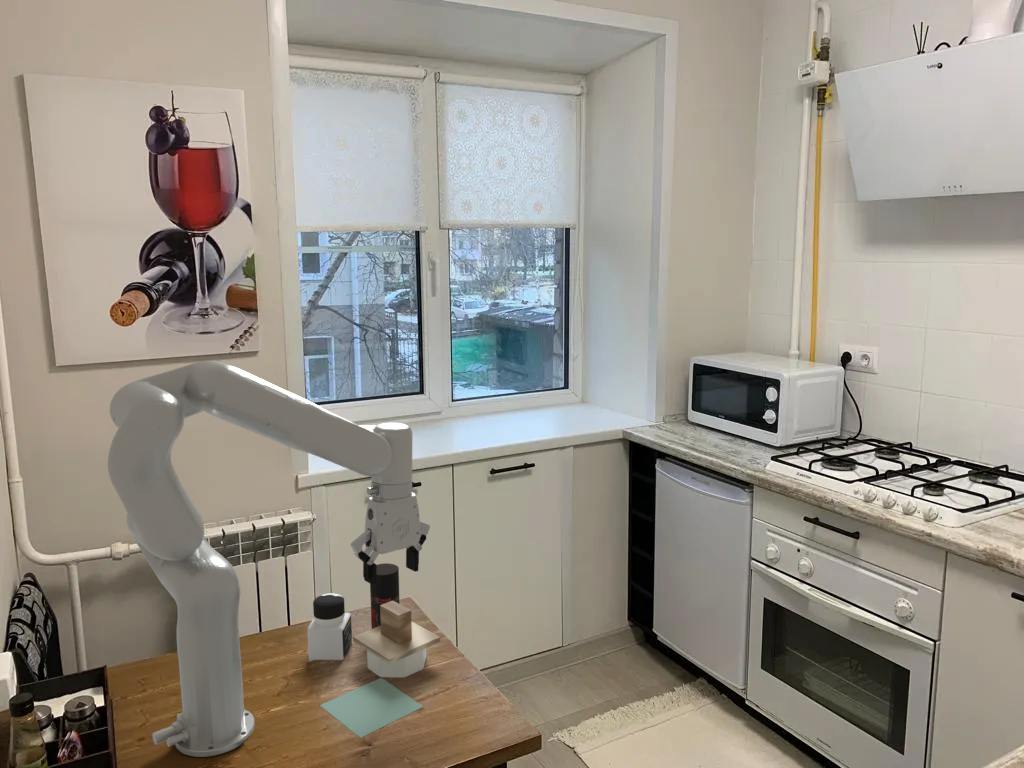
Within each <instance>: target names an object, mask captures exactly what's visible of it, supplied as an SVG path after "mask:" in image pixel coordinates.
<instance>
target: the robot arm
mask: <svg viewBox="0 0 1024 768" xmlns="http://www.w3.org/2000/svg"><path fill="white" fill-rule="evenodd" d="M202 412H205V413H207V414H209V415H211V416H213V417H216V418H218V419H220V420H222V421H225V422H228V423H230V424H233V425H235V426H237V427H241V429H245V430H247V431H249V432H252V433H255V434H257V435H259V436H262V437H263V438H267V439H269V440H270V441H274V442H276V443H279V444H280V445H284V446H286V447H287V448H291V449H294V450H298V451H301V452H305V453H307V454H310V455H314V457H315V456H316V457H319V458H320V459H323V460H325V461H328V462H330V463H333V464H335V465H338V466H341V467H342V468H345V469H347V470H349V471H353V472H354V473H356V474H359V475H361V476H364V477H371V481H370V482H371V483H370V487H367V488H366V493H367V495H369V496H370V497H369V498H368V501H367V507H366V513H365V519H364V520H365V522H364V523H365V524H364V532H363V533H362V534H360V535H359V536H358V537H357V538H356V539H354V540H353V541H352V542H351V543H350V547H351V549H352V551H353V553H354V555H355V556H356V557H357V558H358V559H359V560H360V561H361V562H362V563H363V565H362V569H363V570H362V571H363V573H362V576H363V580H364V581H365V582H367V583H368V584H372V585H374V584H376V582H377V566H376V565H377V564H376V563H375V561H376V560H377V558H378V556H379V555H380V554H381V555H384V554H388V553H393V552H396V551H400V550H403V549H406V550H405V566H406V568H407V569H409V570H411V571H412V572H418V571H419V563H420V551H422V549H423V545H424V543H425V541H426V540H427V536H428V533H429V531H430V528H431V526H430V524H427V523H424V522H423V521H421V520H420V519H421V517H420V511H419V510H420V508H419V504H418V498H417V496H416V493H415V492H413V430H412V428H411V426H409V425H408V424H406V423H401V422H383V423H379V424H376V425H359V424H357V423H355V422H352V421H350V420H348V419H346V418H343V417H342V416H339V415H337V414H335V413H333V412H330V411H329V410H326V409H324V408H323V407H321V406H319V405H318V404H316V403H314V402H312V401H310V400H309V399H307V398H304V397H302V396H300V395H297V394H296V393H294V392H291V391H289V390H286V389H284V388H282V387H280V386H278V385H276V384H273V383H272V382H269V381H267V380H265V379H263V378H261V377H258V376H257V375H254V374H252V373H250V372H248V371H245V370H244V369H241V368H239V367H237V366H233V365H230V364H228V363H224V362H221V361H218V360H213V359H212V360H202V361H198V362H194V363H190V364H188V365H184V366H180V367H178V368H174V369H171V370H168V371H164V372H162V373H158V374H154V375H151V376H148V377H144V378H140V379H137V380H134V381H131V382H128V383H127V384H126V385H123V386H122V387H120V388H119V389H118V391H116V392H115V393H114V394H113V396H112V399H111V401H110V404H109V414H110V419H111V420H112V422H113V424H114V425H115V426H116V427H117V430H116V432H115V434H114V436H113V438H112V441H111V443H110V447H109V451H108V456H107V471H108V474H109V475H108V476H109V479H110V482H111V484H112V486H113V488H114V490H115V492H116V493H117V496H118V498H119V499H120V501H121V503H122V505H123V507H124V509H125V511H126V512H127V513H126V524H127V528H128V530H129V531H128V532H129V533H130V534H131V537H132V538H133V540H134V541H135V543H136V545H137V546H138V548H139V550H140V551H141V553H142V555H143V556H144V558H145V559H146V561H147V563H148V564H149V566H150V568H151V569H152V571H153V572H154V574H155V575H156V577H157V579H158V580H159V582H160V583H161V585H162V586H163V587H164V588H165V589H166V591H167V592H168V593H169V594H170V596H171V597H172V599H173V600H174V601H175V603H176V606H177V608H176V609H177V621H176V622H177V623H176V646H177V647H176V649H177V657H178V658H177V659H178V668H179V670H178V671H179V681H180V683H179V684H180V694H181V696H180V697H181V705H182V706H181V707H182V712H179V713H177V714H176V721H173V722H172V723H171V725H170V726H168V727H165V728H161V729H159V730H157V731H154V732H152V733H151V736H152V742H153V743H154V745H155V746H156V745H159V744H161V743H163V742H166V744H167V747H168V748H171V747H173V746H175V748H176V750H178V752H179V753H182V754H183V755H187V756H189V757H196V758H198V757H199V758H204V757H205V758H207V757H215V756H218V755H222V754H224V753H225V754H226V753H228V752H230V751H233V750H235V749H237V748H238V747H240V746H242V744H244V742H245V741H246V740H247V739H248V738H249V737H251V735H252V734H253V732H254V730H255V726H256V723H255V717H254V715H253V713H251V712H250V711H249V710H248V709H245V705H244V704H245V702H244V687H243V673H242V671H243V669H242V659H241V658H242V656H241V643H240V629H239V622H240V621H239V617H240V616H239V615H240V614H239V612H240V611H239V610H240V602H241V582H240V578H239V575H238V573H237V571H236V569H235V568H234V566H233V565H232V564H231V563H230V562H229V560H227V559H226V558H225V557H224V556H223V555H222V554H220V552H218V551H216V550H215V549H214V548H213V547H212V545H210V543H209V542H208V540H207V538H206V537H205V524H204V519H203V517H202V515H201V512H200V511H199V510H198V508H197V507H196V506H195V504H194V503H193V500H192V499H191V498H190V496H189V495H188V492H187V491H186V489H185V488H184V485H183V484H182V482H181V481H180V479H179V477H178V473H177V472H176V470H175V468H174V466H173V462H172V455H171V454H172V450H173V447H174V445H175V443H176V441H177V439H178V437H179V436H180V434H181V432H182V431H183V428H184V423H185V419H186V418H187V419H188V418H190V417H193V416H194V415H198V414H200V413H202ZM363 545H365V549H364V550H363Z"/></svg>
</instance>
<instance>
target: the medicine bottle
mask: <svg viewBox="0 0 1024 768" xmlns="http://www.w3.org/2000/svg"><path fill="white" fill-rule="evenodd" d="M312 608H313V612H312V613H313V618H312V620H311V621H310V623H309V625H308V627H307V630H306V631H307V648H308V649H307V650H308V651H307V653H308V662H310V663H311V662H313V661H317V660H318V661H344V660H345V659H346V657H347V656H348V653H349V651H350V648H351V646H352V645H353V635H352V634H353V632H352V629H353V628H352V614H351V613H350V612H345V598H344V597H343V596H342V594H339V593H333V592H332V593H331V592H329V593H324V594H320V595H319V596H318V595H317V596H316V598H315V599H314V600H313V601H312Z"/></svg>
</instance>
